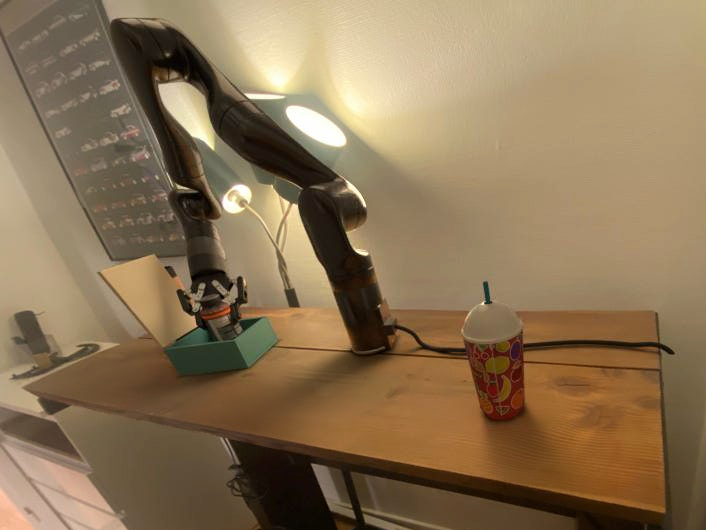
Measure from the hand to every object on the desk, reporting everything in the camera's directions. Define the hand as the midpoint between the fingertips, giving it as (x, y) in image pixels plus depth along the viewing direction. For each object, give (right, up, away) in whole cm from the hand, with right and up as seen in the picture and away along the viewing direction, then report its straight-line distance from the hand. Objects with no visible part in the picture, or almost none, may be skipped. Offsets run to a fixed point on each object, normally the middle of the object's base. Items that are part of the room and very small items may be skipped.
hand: (220, 324), depth 83 cm
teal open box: (-1, -7, +6) cm, 9 cm away
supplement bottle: (0, -4, +4) cm, 6 cm away
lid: (-13, +5, -1) cm, 14 cm away
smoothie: (+62, -16, -27) cm, 69 cm away
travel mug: (-20, -3, +19) cm, 28 cm away
